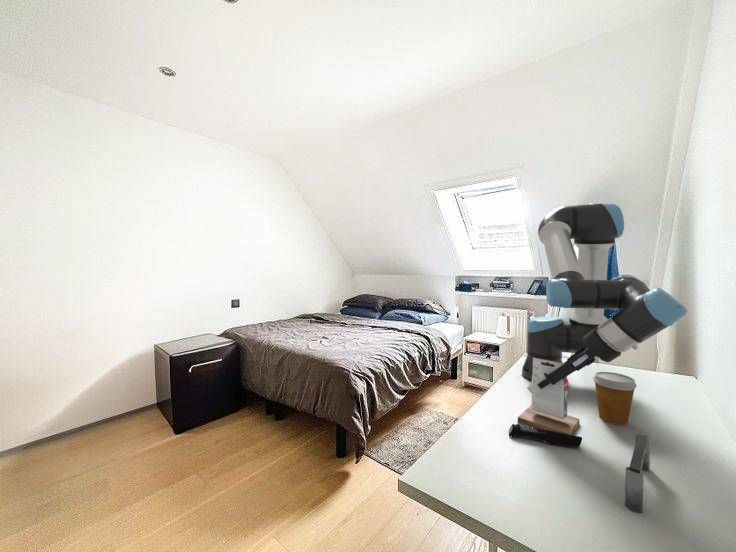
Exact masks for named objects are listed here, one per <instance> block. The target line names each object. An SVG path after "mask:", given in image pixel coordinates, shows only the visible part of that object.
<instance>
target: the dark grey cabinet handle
mask: <svg viewBox="0 0 736 552" xmlns="http://www.w3.org/2000/svg"><path fill="white" fill-rule="evenodd" d="M650 460H651V437H649V436H648V435H646V434H644V433H635V435H634V449H633V452H632V456H631V460H630V464H629V466H627V467H625V475H624V476H625V481H624V482H625V483H624V485H625V486H624V493H625V494H624V506H625V507H626V508H627V510H629V511H631V512H633V513H636V514H642V513H644V479H645V478H644V476H645V474H644V473H643V471H645V472H647V471H650V469H651V467H650V466H651V461H650Z"/></svg>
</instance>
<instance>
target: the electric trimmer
mask: <svg viewBox="0 0 736 552" xmlns="http://www.w3.org/2000/svg"><path fill="white" fill-rule="evenodd" d="M508 437H511V438H512V439H515V437H518V438H522V439H528V440H533V441H540V442H545V443H547V444H548V445H551V446H552V445H554V446H560V447H561V446H563V447H573V448H580V446H581V445H582V442H583V437H582V436H578V435H574V434H573V435H569V434H564V433H559V432H554V431H549V430H543V429H538V428H532V427H529V426H526V425H523V424H520V423H517V424H515V423H512V424H511V426H510V427H509V430H508Z"/></svg>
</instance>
